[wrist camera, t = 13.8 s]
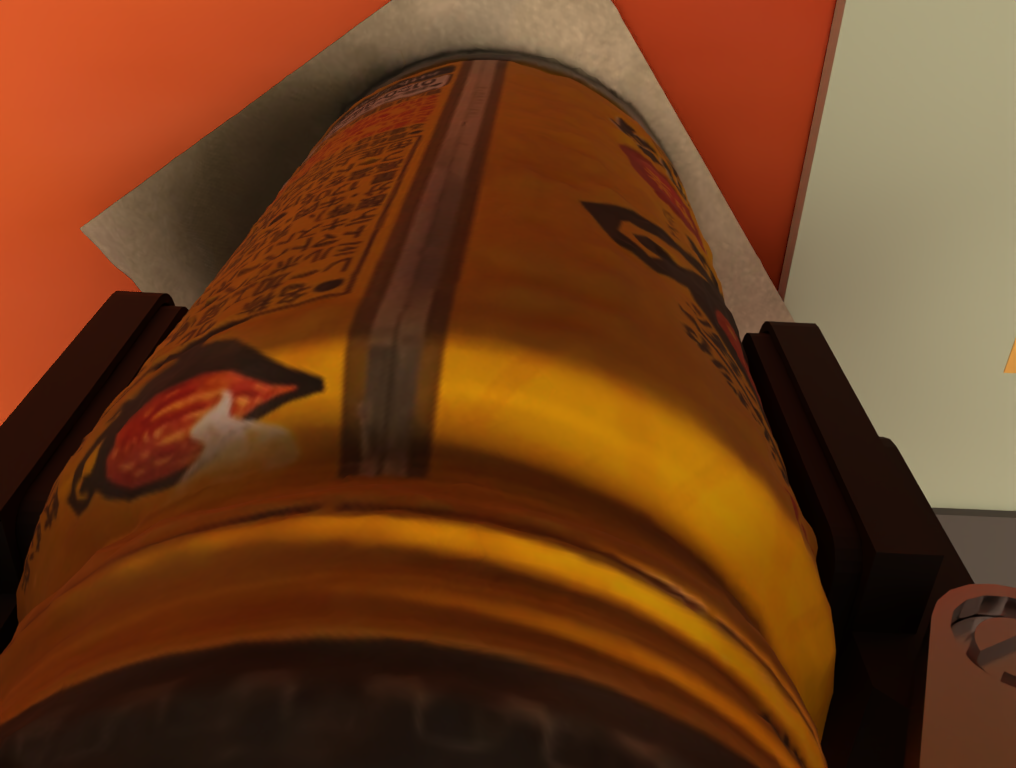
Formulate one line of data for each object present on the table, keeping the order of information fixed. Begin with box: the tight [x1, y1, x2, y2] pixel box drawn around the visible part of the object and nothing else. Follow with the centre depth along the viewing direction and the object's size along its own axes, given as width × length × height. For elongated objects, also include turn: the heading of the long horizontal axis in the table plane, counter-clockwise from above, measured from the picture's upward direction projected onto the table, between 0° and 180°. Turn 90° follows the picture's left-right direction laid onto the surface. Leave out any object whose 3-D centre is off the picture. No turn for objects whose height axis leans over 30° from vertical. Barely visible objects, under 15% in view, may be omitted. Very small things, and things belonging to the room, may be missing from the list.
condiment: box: [0, 0, 836, 768], centre depth 10 cm, size 7×8×12 cm
